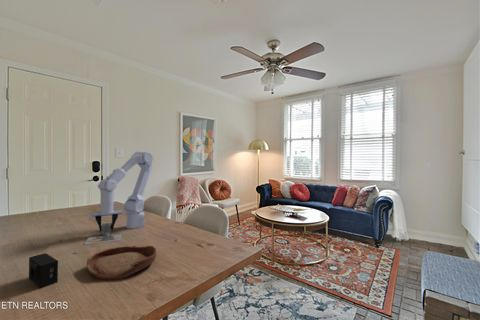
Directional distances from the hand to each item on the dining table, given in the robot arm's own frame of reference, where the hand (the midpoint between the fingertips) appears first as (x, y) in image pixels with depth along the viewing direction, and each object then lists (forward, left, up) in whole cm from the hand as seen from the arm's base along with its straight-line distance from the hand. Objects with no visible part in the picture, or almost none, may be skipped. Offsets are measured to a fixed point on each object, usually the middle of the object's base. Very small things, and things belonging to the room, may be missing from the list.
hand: (106, 230), depth 111 cm
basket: (-10, +37, -4) cm, 39 cm away
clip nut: (0, 0, -2) cm, 2 cm away
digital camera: (+13, +39, -3) cm, 41 cm away
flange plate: (0, +7, -3) cm, 8 cm away
